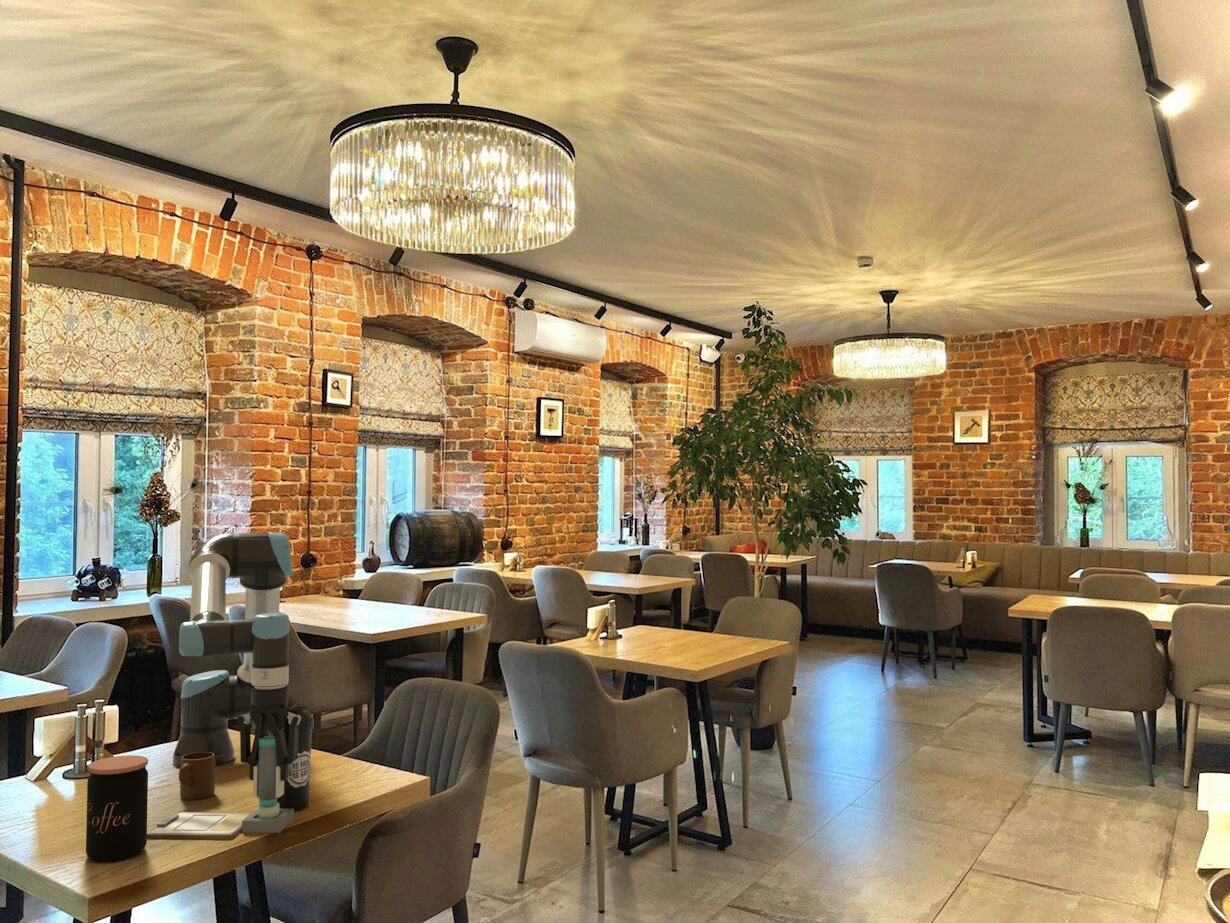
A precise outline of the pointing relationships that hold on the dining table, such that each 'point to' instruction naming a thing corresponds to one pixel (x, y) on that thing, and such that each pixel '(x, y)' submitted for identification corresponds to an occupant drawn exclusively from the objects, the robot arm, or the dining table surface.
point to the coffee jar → (116, 808)
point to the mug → (197, 775)
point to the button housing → (267, 822)
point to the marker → (267, 771)
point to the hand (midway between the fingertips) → (268, 795)
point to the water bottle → (298, 763)
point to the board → (199, 826)
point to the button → (268, 811)
